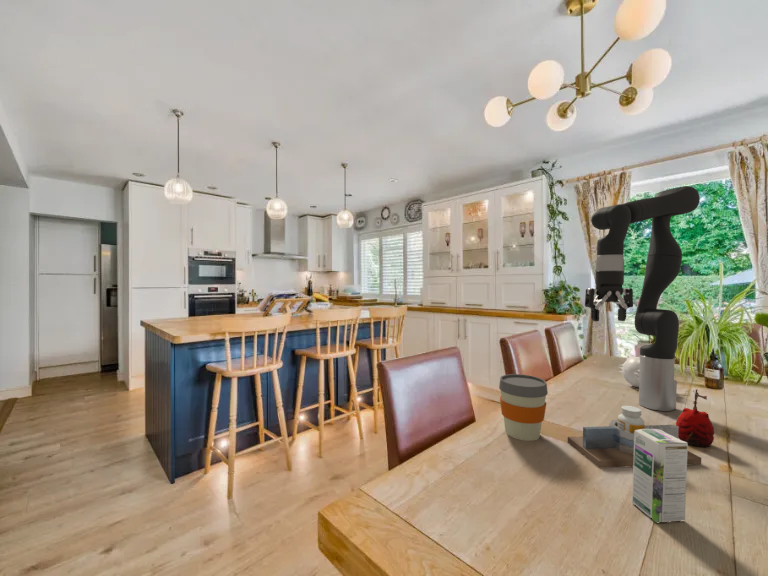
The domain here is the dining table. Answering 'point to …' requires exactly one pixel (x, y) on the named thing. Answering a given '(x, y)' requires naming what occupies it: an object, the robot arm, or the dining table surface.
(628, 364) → the cat head
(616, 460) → the board
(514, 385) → the reusable coffee cup
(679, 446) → the syrup box
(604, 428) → the grey winged octagonal holder
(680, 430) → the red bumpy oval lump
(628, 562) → the dining table surface
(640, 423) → the supplement bottle
